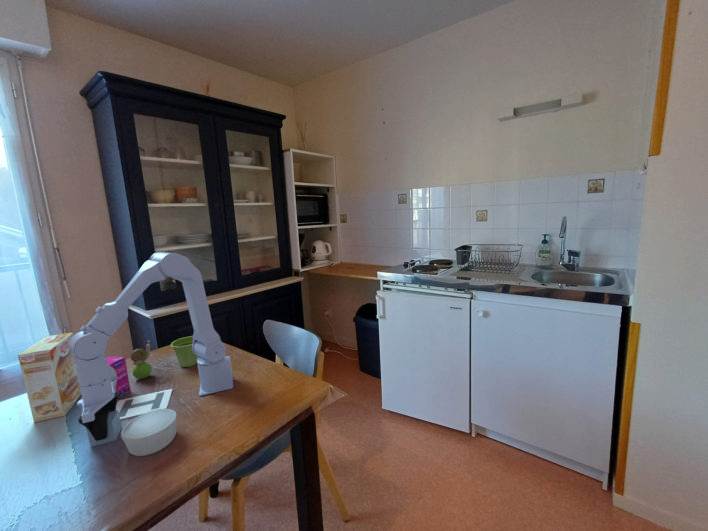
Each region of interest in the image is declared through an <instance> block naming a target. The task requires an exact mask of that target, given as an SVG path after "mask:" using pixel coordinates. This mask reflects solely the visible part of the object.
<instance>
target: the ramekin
mask: <svg viewBox="0 0 708 531" xmlns="http://www.w3.org/2000/svg"><path fill="white" fill-rule="evenodd" d="M177 422H178V414H177V412H176V411H175V410H173V409H171V408H167V409H157V410H153V411H150V412H147V413H144V414H142V415H140V416H136V417H134V418H133V419H131V420H130V421H128V423H126V424H125V426H124V427H122V429H121V431H120V437H121V440H122V441H124V444H125V447H126V449H127V451H128V452H129V454H131V455H132V456H136V457H143V456H144V457H145V456H149V455H152V454H155V453H157V452H159V451H161V450H163V449H164V448H166V447H167V446H168V445H170V443H172V441H173V440H174V438H175V437H176V434H177Z"/></svg>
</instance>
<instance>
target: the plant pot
mask: <svg viewBox="0 0 708 531" xmlns="http://www.w3.org/2000/svg"><path fill="white" fill-rule="evenodd" d="M192 336H193V335H191V336H185V337H181V338H178V339H176V340H174V341H172V342H171V344H170V346H171V347H172V348H173V350H174V352H175V356H176V359H177V361H178V365H179V366H180V368H189V367H190V368H191V367H193V366H195V365H196V364H198V363H197V359H198V358H197V355H195V354H194V353H193V351H192V344H193V338H192Z"/></svg>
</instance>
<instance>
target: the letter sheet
mask: <svg viewBox="0 0 708 531" xmlns="http://www.w3.org/2000/svg"><path fill="white" fill-rule="evenodd" d="M172 393H173V388H169V389H165V390H164V389H163V390H161V391H156V392H152V393H148V394H142V395H138V396H133V397H127V398H123V399H120V400H119V399H118V401H117V405H116V411H117V410H118V411H119V416H120V421H123V420H127V419H131V418H136V417H138V416H140V415H142V414H144V413H147V412H150V411H153V410H157V409H168V407H169V403H170V399H171V396H172Z"/></svg>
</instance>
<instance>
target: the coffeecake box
mask: <svg viewBox="0 0 708 531" xmlns="http://www.w3.org/2000/svg"><path fill="white" fill-rule="evenodd" d="M73 336H74V332H65V333H59V334H54V335H48V336H46V335H45V336H44V337H43V338H42V339H40V340H38V341H37V342H35V343H34V344H33V345H31V346H30V347H29V346H28V348H26V349H25V350H24V351H22V352H21V353H19V354H18V355H17V358H18V361H19V365H20V370H21V374H22V378H23V382H24V386H25V389H26V390H25V391H26V395H27V399H28V403H29V408H30V411H31V412H30V413H31V416H32V419H33V423H38V422H42V421H47V420H48V421H49V420H51V419H57V418H61V417H65V416H66V415H67V414H68V412H69V411H70V410H71V409H72V408H73V406H74V405H75V403H77V402H78V399H79V398H80V397H81V396H82V394H81V390H80V385H79V381H78V376H77V372H76V363H75V357H74V355H75V354H74V353H73V352H72V351H71V350H70V349H69V347H68V346H69V344H70V340H71V338H72V337H73Z"/></svg>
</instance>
